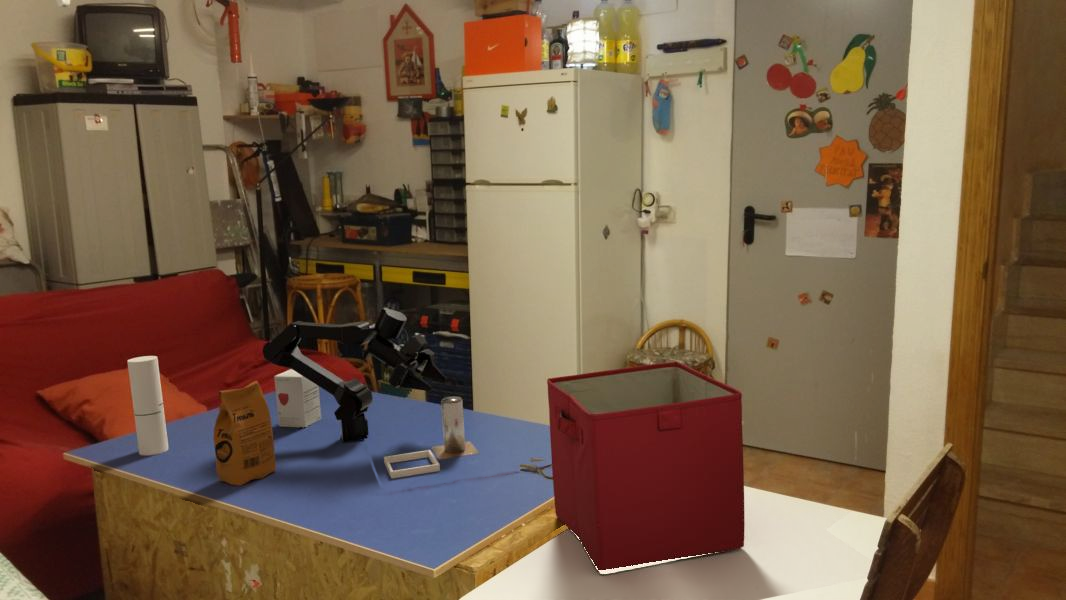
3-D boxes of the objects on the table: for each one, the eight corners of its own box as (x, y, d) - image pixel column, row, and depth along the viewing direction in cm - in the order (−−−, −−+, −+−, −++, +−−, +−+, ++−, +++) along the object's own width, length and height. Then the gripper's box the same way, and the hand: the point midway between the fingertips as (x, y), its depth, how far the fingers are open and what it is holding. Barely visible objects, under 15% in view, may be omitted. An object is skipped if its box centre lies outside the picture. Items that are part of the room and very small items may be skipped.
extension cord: (552, 457, 200) (551, 449, 200) (600, 471, 189) (600, 463, 189) (515, 471, 192) (514, 463, 192) (564, 487, 181) (563, 478, 180)
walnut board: (439, 463, 198) (439, 459, 198) (431, 450, 208) (431, 447, 208) (479, 457, 201) (479, 453, 201) (469, 445, 211) (469, 441, 211)
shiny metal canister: (446, 454, 201) (443, 403, 199) (442, 448, 206) (439, 398, 204) (467, 451, 203) (464, 400, 201) (462, 445, 208) (459, 395, 206)
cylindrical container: (173, 446, 223) (162, 355, 219) (159, 455, 215) (147, 361, 212) (148, 446, 223) (137, 356, 219) (133, 455, 216) (121, 362, 212)
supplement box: (277, 427, 235) (272, 375, 233) (295, 417, 244) (290, 368, 242) (305, 428, 233) (300, 376, 230) (322, 418, 241) (317, 368, 239)
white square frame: (391, 482, 187) (390, 472, 187) (384, 466, 198) (383, 456, 198) (440, 474, 191) (439, 464, 190) (430, 459, 201) (430, 449, 201)
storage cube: (589, 581, 138) (581, 414, 133) (543, 518, 164) (536, 376, 160) (761, 549, 146) (759, 391, 142) (691, 494, 172) (688, 358, 168)
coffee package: (211, 481, 194) (201, 390, 191) (256, 464, 204) (247, 378, 201) (236, 488, 189) (226, 395, 185) (282, 471, 198) (273, 382, 195)
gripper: (386, 334, 203) (438, 367, 201) (417, 320, 221) (465, 350, 219) (367, 371, 207) (419, 404, 204) (400, 355, 224) (447, 385, 222)
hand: (439, 384), depth 212 cm, fingers open, 9 cm apart
